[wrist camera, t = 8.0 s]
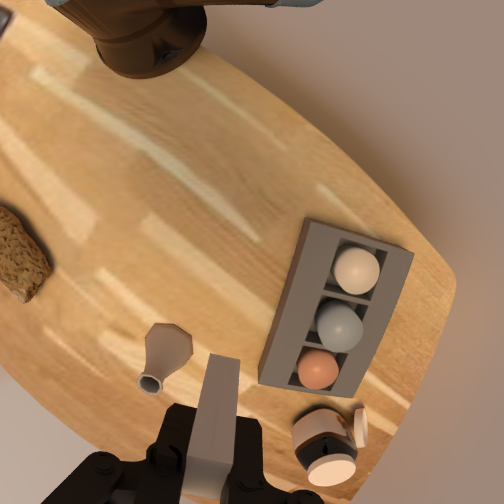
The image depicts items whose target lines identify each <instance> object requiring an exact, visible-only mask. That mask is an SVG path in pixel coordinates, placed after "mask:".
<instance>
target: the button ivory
mask: <svg viewBox="0 0 504 504" xmlns="http://www.w3.org/2000/svg"><path fill="white" fill-rule="evenodd" d="M379 271H380V269H379V264H378V261H377V259H376V258H375V257H374V256H373V255H372V254H371V253H369V252H367V251H366V250H364V249H363V248H361V247H360V246H358V245H355V244H346V245H343V246H341V247H339V248H338V249H337V250H336V253H335V256H334V259H333V262H332V265H331V268H330V272H331V274H332V276H333V277H334V278H335V280H336V281H337V282H338V283H339V285H340V286H341V287H342V288H343V289H344V290H345V291H346V292H348V293H350V294H363V293H365V292H367V291H369V290H370V289H371V288H372V287H373V286H374V285H375V284H376V282H377V280H378V277H379Z"/></svg>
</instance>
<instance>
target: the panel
mask: <svg viewBox="0 0 504 504" xmlns="http://www.w3.org/2000/svg"><path fill="white" fill-rule="evenodd" d="M346 244H355V245H358V246H360V247H361V248H363V249H364V250H366V251H367V252H369V253H371V254H372V255H373V256H374V257H375V258H376V259H377V261H378V264H379V269H380V271H379V277H378V280H377V282H376V284H375V285H374V286H373V287H372V288H371V289H370V290H369V291H367V292H365V293H363V294H350V293H348V292H346V291H345V290H344V289H343V288H342V287H341V286H340V285H339V283H338V282H337V281H336V280H335V278H334V277H333V276H332V274H331V272H330V268H331V265H332V262H333V259H334V256H335V253H336V250H337V249H338V248H339V247H341V246H343V245H346ZM413 257H414V253H412V252H410V251H408V250H406V249H404V248H402V247H400V246H397V245H394V244H391V243H387V242H384V241H381V240H378V239H375V238H372V237H369V236H365V235H362V234H359V233H356V232H353V231H349V230H346V229H343V228H339V227H336V226H333V225H329V224H326V223H323V222H319V221H316V220H312V219H309V218H306V217H305V220H304V223H303V227H302V230H301V234H300V237H299V240H298V244H297V247H296V250H295V254H294V257H293V260H292V264H291V267H290V270H289V273H288V277H287V280H286V283H285V286H284V289H283V293H282V296H281V299H280V302H279V305H278V308H277V311H276V314H275V318H274V321H273V324H272V327H271V330H270V333H269V336H268V339H267V342H266V345H265V348H264V351H263V354H262V357H261V360H260V362H259V365H258V384H262V385H267V386H272V387H277V388H283V389H288V390H294V391H300V392H307V393H313V394H320V395H328V396H336V397H344V398H353V396H354V394H355V392H356V390H357V388H358V387H359V385H360V383H361V381H362V379H363V377H364V375H365V373H366V371H367V369H368V367H369V365H370V363H371V361H372V359H373V356H374V354H375V352H376V350H377V348H378V346H379V344H380V341H381V339H382V337H383V335H384V332H385V330H386V328H387V325H388V323H389V321H390V318H391V316H392V314H393V311H394V309H395V306H396V304H397V301H398V299H399V296H400V293H401V291H402V288H403V285H404V283H405V280H406V277H407V275H408V272H409V269H410V266H411V263H412V260H413ZM333 300H341V301H344V302H346V303H348V304H349V305H350V306H351V308H352V309H353V310H354V312H355V313H356V315H357V316H358V317H359V319H360V320H361V322H362V324H363V334H362V337H361V339H360V341H359V342H358V343H357V344H356V345H355V346H354V347H353V348H351V349H350V350H348V351H345V352H332V354H333V356H334V358H335V361H336V363H337V365H338V368H339V373H338V376H337V378H336V380H335V381H334V382H333V383H332V384H331V385H329V386H327V387H325V388H322V389H309V388H307V387H305V386H304V385H303V384H302V383H301V382H300V379H299V374H298V370H297V365H296V362H297V359H298V357H299V354H300V352H301V349H302V347H303V346H310V347H315V348H320V349H325V350H328V349H326V348H325V347H324V346H323V344H322V342H321V339H320V337H319V334H318V332H317V329H316V327H315V323H314V320H315V315H316V313H317V311H318V310H319V308H320V307H321V306H322V305H324V304H325V303H327V302H329V301H333Z"/></svg>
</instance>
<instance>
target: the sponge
mask: <svg viewBox="0 0 504 504" xmlns="http://www.w3.org/2000/svg"><path fill="white" fill-rule="evenodd" d="M45 257H46V256H45V255H44V253H43V252H42V250H41V249H40V247H39V246H38V245H37V244H36V243H35V242H34V240H33V239H32V238H30V237H29V236H28V234H27V233H26V232H25V231H24V229H23V226H22V224H21V222H20V221H19V219H18V218H17V217H16V216H15V215H14V214H13V213H11V212H10V211H8V210H7V209H6V208H4V207H3V206H2V207H0V281H1V282H3V283H4V284H5V285H6V286H7V287H8V288H9V290H10V291H11V292H13V293H14V294H16V295H17V296H18V297H19V301H20V302H22V303H23V304H24V303H27V302H29V301H31V299H32V298H33V296H34V295H35V293H36V291H37V289H38V287H39V286H40V283H41V282H42V283H43V282H44V281H45V279H46V278H47V277H48V276H49V274H50V272H51V267H50V266H49V265H48V260H47V259H46V258H45Z"/></svg>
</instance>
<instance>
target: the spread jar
mask: <svg viewBox="0 0 504 504" xmlns="http://www.w3.org/2000/svg"><path fill="white" fill-rule="evenodd" d="M354 435H355V441H354V438H353V435H352V432H351V430H350V428H349V426H348V424H347V423H346V421H345V420H344V419H343V417H342V416H341V415H340V414H339V413H338V412H337V411H335V410H333V409H330V408H318V409H315V410H313V411H311V412H309V413H307V414H305V415H304V416H303V417H301V418H300V419H299V420H298V421H297V422H296V423H295V425H294V426H293V428H292V440H293V447H294V452H295V455H296V457H297V459H298V461H299V462H300V464H301V465H302V466H303V467H304V469H305V470H306V471H308V472H307V473H308V479H309V481H310V482H311V483H312V484H314V485H317V486H331V485H336V484H339V483H341V482H343V481H345V480H347V479H348V478H350V477H351V476H352V475H353V474H354V472H355V469H356V466H355V463H354V461H355V460H356V458H357V455H358V451H357V448H360V447H366V445H367V436H368V427H367V415H366V410H365V408H360V409H356V410H355V416H354Z"/></svg>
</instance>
